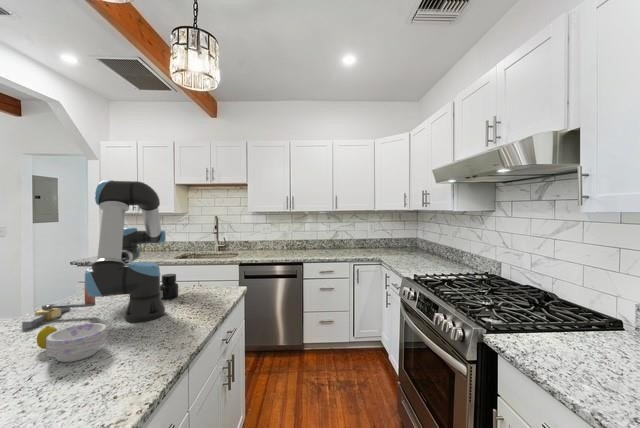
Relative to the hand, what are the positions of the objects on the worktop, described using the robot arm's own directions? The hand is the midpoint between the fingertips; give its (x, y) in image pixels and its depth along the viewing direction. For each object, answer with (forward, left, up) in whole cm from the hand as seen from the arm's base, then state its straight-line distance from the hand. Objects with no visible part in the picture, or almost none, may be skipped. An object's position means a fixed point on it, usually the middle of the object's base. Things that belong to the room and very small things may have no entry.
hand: (98, 267), depth 140 cm
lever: (+8, +8, -16) cm, 19 cm away
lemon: (-4, +41, -20) cm, 46 cm away
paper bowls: (-16, +47, -20) cm, 53 cm away
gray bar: (+16, +8, -20) cm, 27 cm away
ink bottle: (-26, -14, -20) cm, 36 cm away
